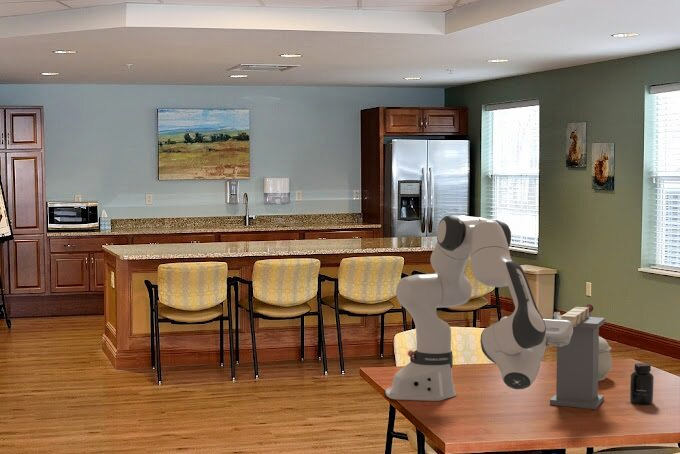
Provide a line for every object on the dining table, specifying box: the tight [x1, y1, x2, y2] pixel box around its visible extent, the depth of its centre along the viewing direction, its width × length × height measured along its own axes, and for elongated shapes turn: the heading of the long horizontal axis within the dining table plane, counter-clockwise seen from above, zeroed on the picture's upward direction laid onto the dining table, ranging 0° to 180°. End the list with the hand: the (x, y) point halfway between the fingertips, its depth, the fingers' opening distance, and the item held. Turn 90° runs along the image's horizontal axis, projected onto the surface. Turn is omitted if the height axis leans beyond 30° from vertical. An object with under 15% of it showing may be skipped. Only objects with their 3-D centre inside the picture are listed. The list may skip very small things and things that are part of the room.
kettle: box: [584, 304, 613, 382], centre depth 343 cm, size 25×18×25 cm
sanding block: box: [561, 306, 589, 327], centre depth 300 cm, size 21×4×3 cm, turn 155°
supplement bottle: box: [629, 362, 655, 406], centre depth 306 cm, size 7×7×12 cm
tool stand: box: [549, 314, 606, 410], centre depth 305 cm, size 13×14×26 cm
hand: (540, 312), depth 279 cm, fingers open, 8 cm apart
